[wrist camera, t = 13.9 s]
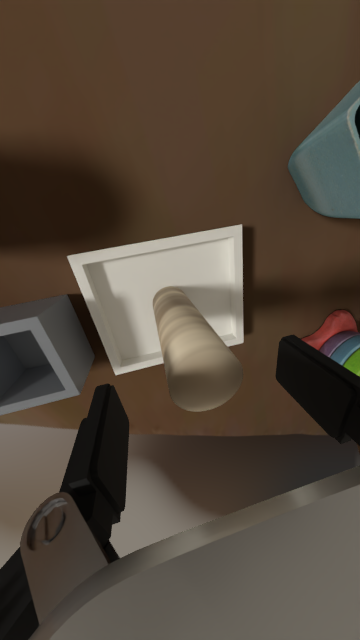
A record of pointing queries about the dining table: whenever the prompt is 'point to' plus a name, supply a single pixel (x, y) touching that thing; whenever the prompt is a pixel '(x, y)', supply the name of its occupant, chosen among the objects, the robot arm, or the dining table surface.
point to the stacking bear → (338, 340)
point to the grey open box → (41, 353)
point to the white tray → (154, 274)
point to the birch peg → (193, 354)
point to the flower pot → (332, 161)
